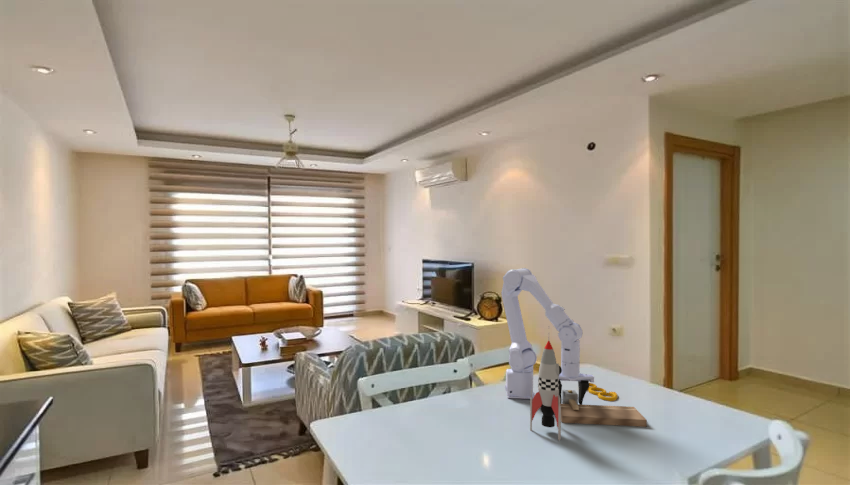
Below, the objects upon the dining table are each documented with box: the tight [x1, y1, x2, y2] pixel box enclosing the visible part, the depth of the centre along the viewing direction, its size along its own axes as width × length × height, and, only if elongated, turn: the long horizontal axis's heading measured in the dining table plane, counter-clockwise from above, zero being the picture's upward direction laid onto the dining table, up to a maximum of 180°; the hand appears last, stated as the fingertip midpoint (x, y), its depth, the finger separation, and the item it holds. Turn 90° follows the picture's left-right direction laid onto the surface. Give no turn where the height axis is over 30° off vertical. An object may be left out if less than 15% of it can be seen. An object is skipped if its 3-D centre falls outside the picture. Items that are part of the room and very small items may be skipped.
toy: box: [529, 325, 562, 441], centre depth 124 cm, size 9×8×30 cm
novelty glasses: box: [587, 382, 618, 402], centre depth 156 cm, size 17×2×10 cm
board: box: [560, 403, 648, 428], centre depth 134 cm, size 24×10×2 cm, turn 84°
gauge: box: [561, 389, 579, 410], centre depth 139 cm, size 4×10×6 cm, turn 174°
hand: (569, 403), depth 142 cm, fingers open, 6 cm apart
